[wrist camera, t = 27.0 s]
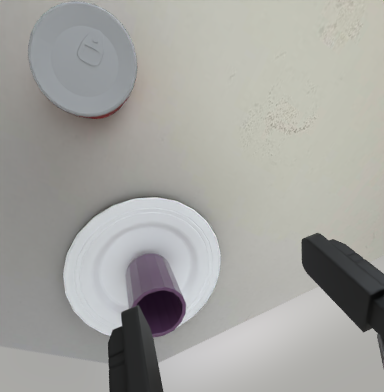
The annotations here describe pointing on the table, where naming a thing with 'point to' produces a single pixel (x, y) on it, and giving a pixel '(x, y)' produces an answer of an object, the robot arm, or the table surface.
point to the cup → (155, 293)
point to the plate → (132, 248)
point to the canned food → (82, 59)
